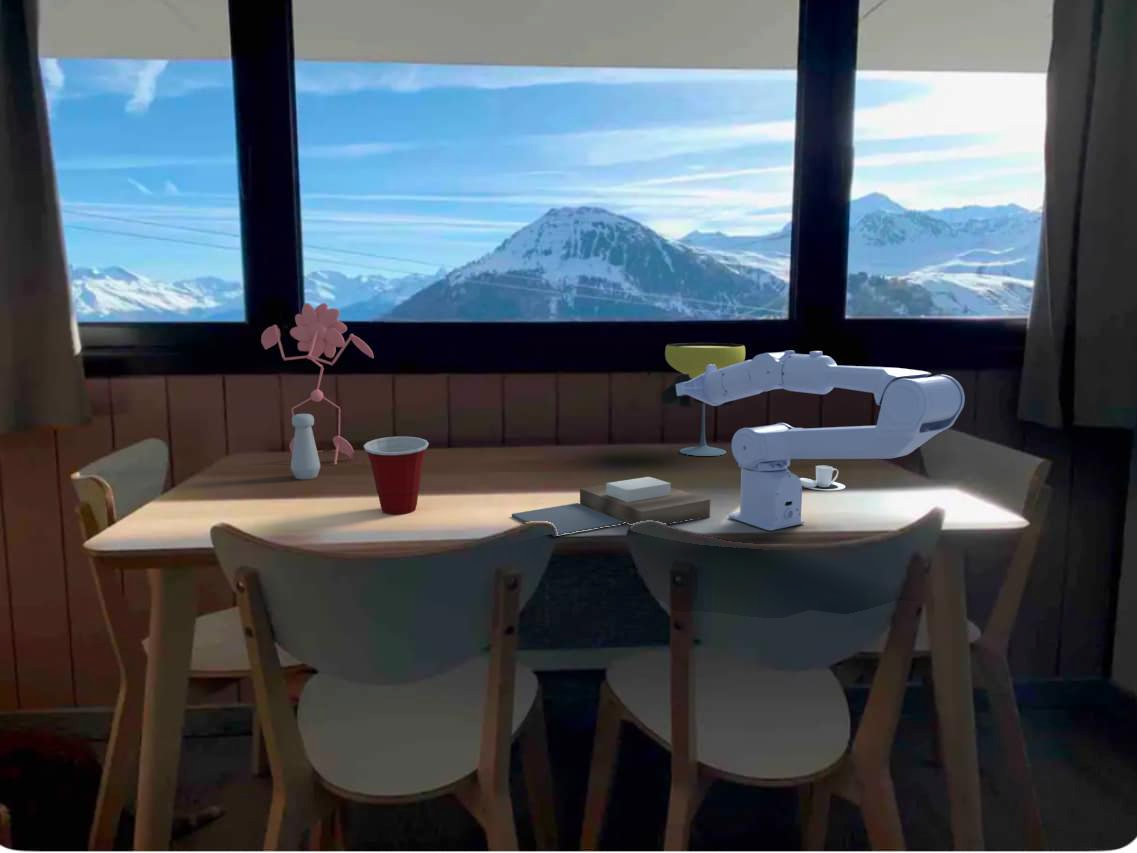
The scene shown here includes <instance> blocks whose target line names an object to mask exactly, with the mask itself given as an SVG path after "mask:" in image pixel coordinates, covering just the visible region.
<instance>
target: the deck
mask: <svg viewBox="0 0 1137 853" xmlns="http://www.w3.org/2000/svg"><path fill="white" fill-rule="evenodd" d="M579 504H581V505H584V506H586V507H589V508H591V509H594V510H596V511H599V512H601V513H604V514H606V515H609V516H611V517H614V518H616V519H619V520H621V521H624V522H626V523H629V524H633V523H636V522H640V521H646V520H653V521H659V522H662V523H666V524H670V523H673V522H680V521H685V520H690V519H697V520H699V519H698V518H703V519H706V517H708V518H710V517H711V514H710V513H711V499H709V498H707V497H704V496H700V495H696V494H693V493H691V492H688V491H684V490H681V489H677V488H674V487H672V486H671V494H670V495H667V496H661V497H655V498H649V499H643V500H637V501H631V502H625V501H623V500H620V499H617V498H614V497H612V496H609V495H606V484H603V485H596V486H595V485H594V486H589V487H582V488H579Z"/></svg>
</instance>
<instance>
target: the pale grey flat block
mask: <svg viewBox="0 0 1137 853" xmlns="http://www.w3.org/2000/svg"><path fill="white" fill-rule="evenodd" d="M605 485H606V495H609V496H612V497H614V498H617V499H620V500H623V501H625V502H631V501H637V500H643V499H649V498H655V497H661V496H667V495H670V494H671V487H672V486H671V485H672V483H671V482H668V481H665V480H662V479H658V478H655V477H651V476H645V477H639V478H632V479H625V480H618V481H612V482H606V483H605Z"/></svg>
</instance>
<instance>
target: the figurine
mask: <svg viewBox="0 0 1137 853" xmlns="http://www.w3.org/2000/svg"><path fill="white" fill-rule="evenodd" d="M294 316H295V317H294V320H295V323H296V326H295V327H292V328H291V329H290V330H289V334H290V336H291V337H292V338H293V339H295V340H297V341H298V343H297V349H298V351H299V352H308V354H307V355H301V356H292V357H291V356H289V357H286V356H285V353H284V349H283V345H282V342H281V337H282V336H281V330H280V328H279V327H278V325H277V324H273V325H272V326H269V327H267V328H266V329H265V330H264V331H263V332H262V334H261V337H260V338H261V339H260V342H261V344H262V346H263V349H265V350H267V349H269V348H271V347H273V346H275V345H276V344H277V343H278V348H279V351H280V354H281V357H282V359H283V361H292V360H300V359H307V360H311V361H312V362H313V363H315V364H316V365H317V366H318V367H320V371H319V376H318V382H317V387H316V389H314V390H312V392H311V393H310V397H309V398H307V399H306V400H304V401H302V402H300V403H299V404H297V405H294V407H291V410H290V411H291V416H292V417H293V416H294V415H295V413H294V410H295V409H296V408H298V407H299V406H302V405H304V404H305V403H307V402H309V401H310V400H312V401H313V402H315V403H317V402H318V403H319V402H321V401H322V400H323V399H324V400H325V401H327V402H328V403H329V404H332V406H334V407H336V408H337V409H338V425H337V426H338V427H337V428H338V432H337V434H338V435H334V436H333V438H332V442H333V445H334V447H335V449H334V450H333V452H335V453H334V461H333V465H334V466H335V465H338V464H337V463H338V456H339V455H338V454H339V452H340V453H342V454H343V455H345V456H346V457H348V458H349V459H354V455H355V454H354V453H355V450H354V449H353V446H352V445H351V443H349V441H348V440H346V439H345V438H344V437H343V436H341V407H340V406H338V405H337V404H335V403H334V402H333V401H331V400H329V399H328V398H327V397H325V396H324V392H323V391H322V390H320V385H321V382H322V376H323V373H324V369H325V368H324V365H323V364H328V365H330V366H334V364H335V363H336V362H337V361H338V359H339V357H340V356H341V355H342V353H343V352H344V351H345V349H346V347H347V346H348V345H349V343H350V341H352V343H353V344H354V345H355V346H356V348H358V349H359V350H360V351H361V352H362V353H363V354H365V355H367V356H368V357H369V358H372V359H374V358H375V356H374V353H373V350H372V349H371V348H370V346H369V345H368V344H367V343H366V342H365V341H364V340H363V339H361V338H360V337H358V336H356V335H354V333H350V334H349V337H348V338H347V340H346V341H345V339H344V337H343V335H342V334H344V333H346V332H347V330H348V327H347V325H346V324H345V323H343V322H342V321H340V320H338V318H339V317H340V310H339V309H337V308H328V304H327V303H325V302H324V303H321V304H319V305H317V306H316V307H315V308H314V307H313V306H312V304H310V303H308V302H306V303H304V304H303V306H302V309H301V313H297V314H296V315H294ZM336 348H341V349H340V350H339V351H338V353H337V354H336V352H337V349H336ZM323 353H324V356H325V357H326V358H329V359H333V360H332V361H328V360H325V359H323V358H320V356H321V355H323ZM335 355H336V356H335ZM320 362H321V363H323V364H321V363H320ZM294 428H296V427H294ZM293 445H294V437H293V438H292V440H291V441H290V442H289V450H290V452H291V454H292V453H293ZM319 452H322V450H317V453H319ZM363 464H364V462H363V463H359V465H360V466H361V465H363Z"/></svg>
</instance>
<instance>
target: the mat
mask: <svg viewBox="0 0 1137 853" xmlns="http://www.w3.org/2000/svg"><path fill="white" fill-rule="evenodd" d="M511 517H512V518H513V519H516V520H518V521H520V522H521V523H524V524H526V523H525V522H530V521H548V522H551V523H553V524H554V525H555V527H556V529H557V532H558V535H561V534H564V533H572V532H576V531H582V530H588V529H594V528H600V527H605V526H612V525H618V524H623V523H624V521H621V520H619V519H616V518H614V517H611V516H609V515H606V514H604V513H601V512H599V511H596V510H594V509H591V508H589V507H586V506H584V505H581V504H580V502H579V503H578V502H575V503H569V504H565V505H564V504H563V505H557V506H551V507H545V508H539V509H538V508H537V509H532V510H526V511H522V512H514V513H511ZM624 524H625V523H624Z"/></svg>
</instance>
